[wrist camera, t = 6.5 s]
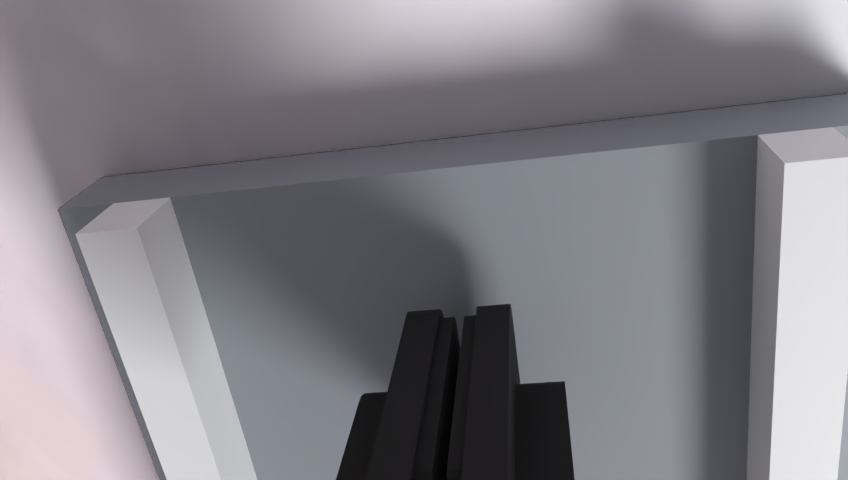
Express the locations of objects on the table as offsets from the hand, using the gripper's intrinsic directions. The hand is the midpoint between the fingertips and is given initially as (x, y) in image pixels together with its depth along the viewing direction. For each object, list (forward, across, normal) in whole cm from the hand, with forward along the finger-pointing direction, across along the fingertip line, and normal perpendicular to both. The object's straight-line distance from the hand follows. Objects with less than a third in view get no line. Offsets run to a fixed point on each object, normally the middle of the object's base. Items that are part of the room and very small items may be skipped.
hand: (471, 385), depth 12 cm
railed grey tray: (+2, 0, +6) cm, 7 cm away
